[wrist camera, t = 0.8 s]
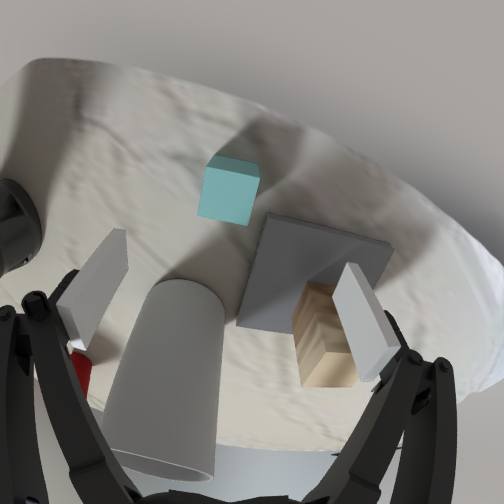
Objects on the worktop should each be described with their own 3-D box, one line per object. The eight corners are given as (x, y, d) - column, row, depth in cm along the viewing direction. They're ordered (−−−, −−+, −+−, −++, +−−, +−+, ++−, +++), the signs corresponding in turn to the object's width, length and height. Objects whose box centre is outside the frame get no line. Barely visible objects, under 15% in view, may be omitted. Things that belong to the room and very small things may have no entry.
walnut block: (290, 317, 39) (295, 348, 34) (307, 280, 36) (315, 311, 30) (332, 323, 40) (341, 352, 35) (351, 288, 36) (364, 318, 31)
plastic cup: (103, 359, 49) (86, 403, 38) (100, 378, 53) (86, 417, 43) (62, 336, 46) (40, 378, 35) (63, 359, 50) (46, 396, 40)
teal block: (206, 195, 31) (197, 215, 26) (214, 154, 28) (206, 166, 23) (247, 204, 32) (247, 226, 26) (258, 163, 29) (260, 178, 24)
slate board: (236, 318, 41) (236, 325, 40) (267, 212, 32) (268, 217, 31) (339, 332, 43) (341, 339, 42) (390, 244, 34) (394, 249, 33)
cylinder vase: (207, 344, 44) (192, 485, 23) (139, 318, 41) (94, 457, 20) (239, 297, 39) (234, 474, 17) (158, 263, 36) (91, 436, 14)
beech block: (295, 348, 34) (301, 386, 29) (315, 311, 30) (326, 351, 25) (341, 352, 35) (350, 387, 30) (364, 318, 31) (379, 354, 26)
